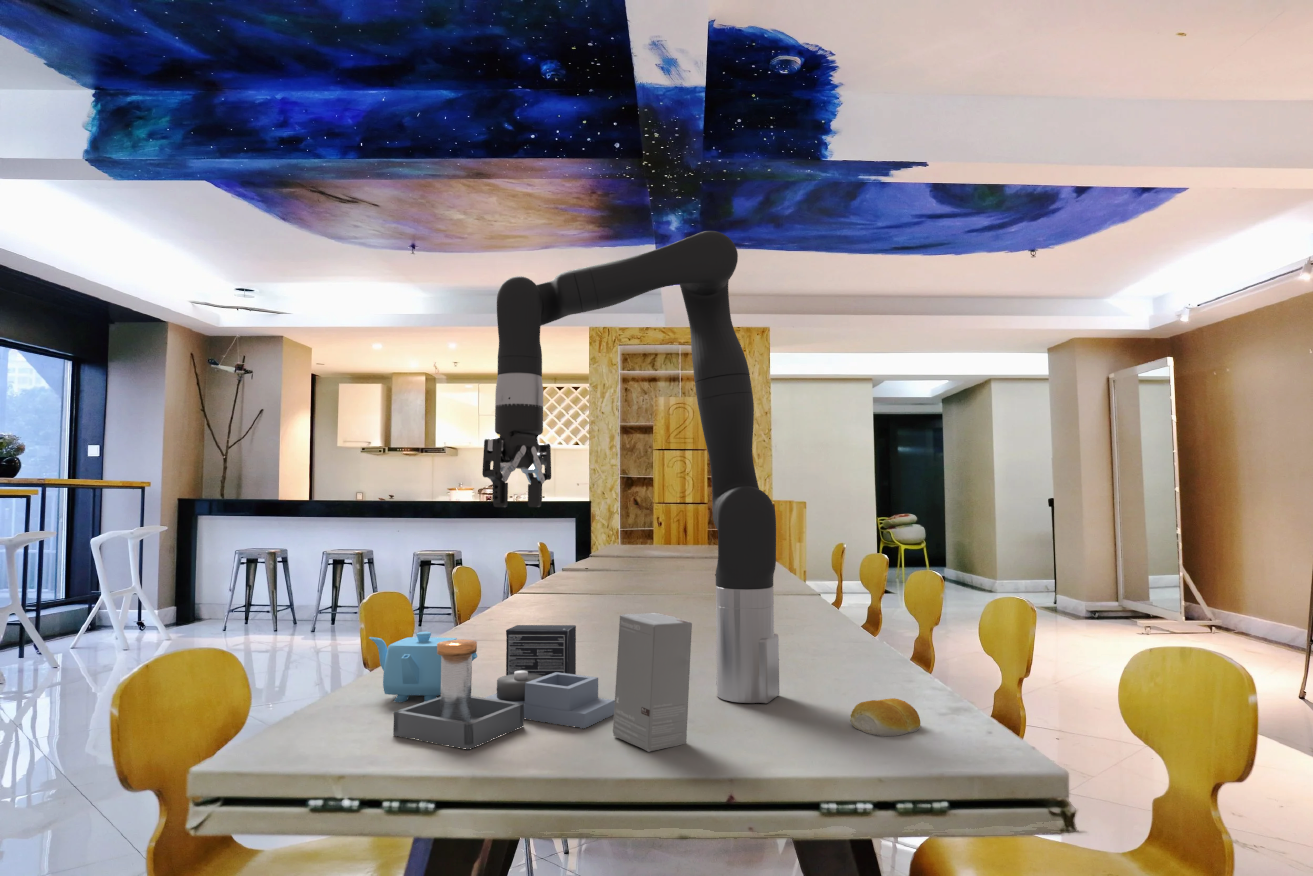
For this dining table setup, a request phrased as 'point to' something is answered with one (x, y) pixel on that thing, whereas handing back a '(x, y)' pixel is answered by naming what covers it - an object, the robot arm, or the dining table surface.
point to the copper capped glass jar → (456, 678)
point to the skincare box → (652, 680)
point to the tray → (459, 722)
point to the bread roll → (885, 717)
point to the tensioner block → (556, 697)
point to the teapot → (412, 666)
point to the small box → (541, 649)
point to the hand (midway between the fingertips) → (518, 507)
